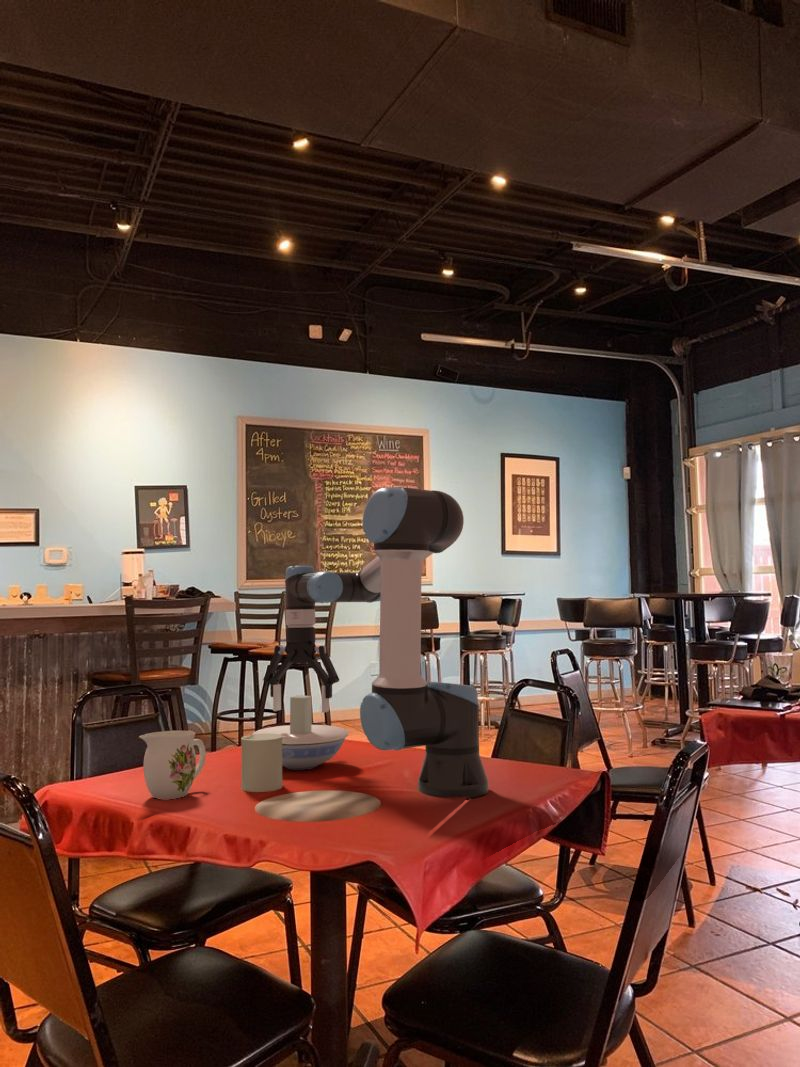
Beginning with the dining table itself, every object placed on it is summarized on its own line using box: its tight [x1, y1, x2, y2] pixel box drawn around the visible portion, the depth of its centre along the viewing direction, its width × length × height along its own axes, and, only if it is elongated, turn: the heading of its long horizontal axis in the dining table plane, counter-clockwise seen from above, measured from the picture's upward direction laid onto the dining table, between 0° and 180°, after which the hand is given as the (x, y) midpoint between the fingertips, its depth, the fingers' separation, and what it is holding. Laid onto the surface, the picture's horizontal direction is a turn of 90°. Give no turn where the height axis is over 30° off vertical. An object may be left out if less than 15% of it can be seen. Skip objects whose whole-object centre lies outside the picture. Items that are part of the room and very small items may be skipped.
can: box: [240, 734, 283, 793], centre depth 178 cm, size 9×9×12 cm
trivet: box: [254, 790, 382, 823], centre depth 161 cm, size 25×25×1 cm
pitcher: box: [138, 730, 207, 800], centre depth 174 cm, size 11×18×14 cm, turn 148°
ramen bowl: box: [282, 738, 346, 771], centre depth 202 cm, size 25×23×8 cm
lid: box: [251, 694, 350, 744], centre depth 203 cm, size 24×24×10 cm
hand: (301, 711), depth 203 cm, fingers open, 13 cm apart
